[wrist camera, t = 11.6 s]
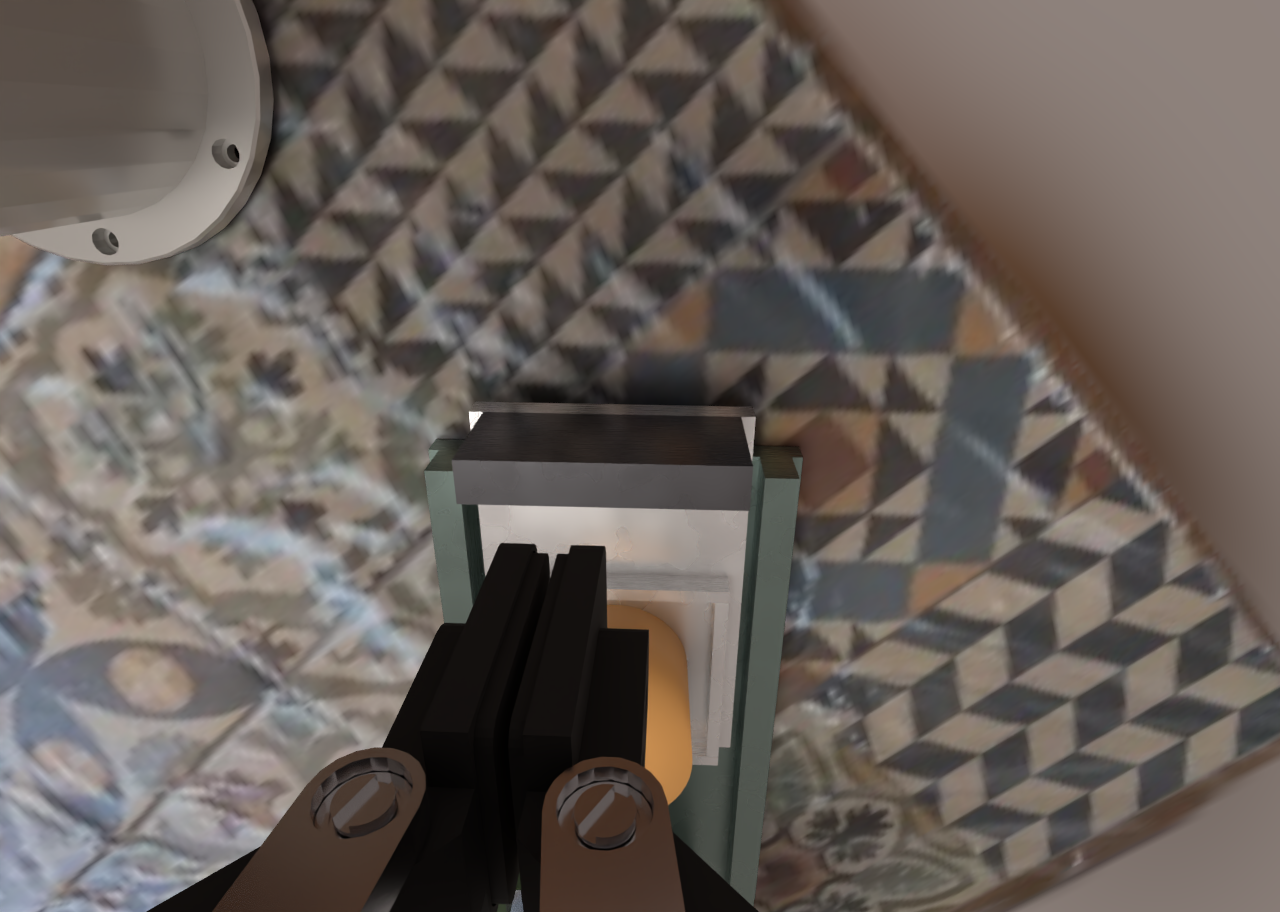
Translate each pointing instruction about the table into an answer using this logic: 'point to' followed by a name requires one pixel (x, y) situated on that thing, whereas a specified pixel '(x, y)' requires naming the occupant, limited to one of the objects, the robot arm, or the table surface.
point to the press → (736, 789)
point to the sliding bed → (630, 517)
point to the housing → (663, 699)
